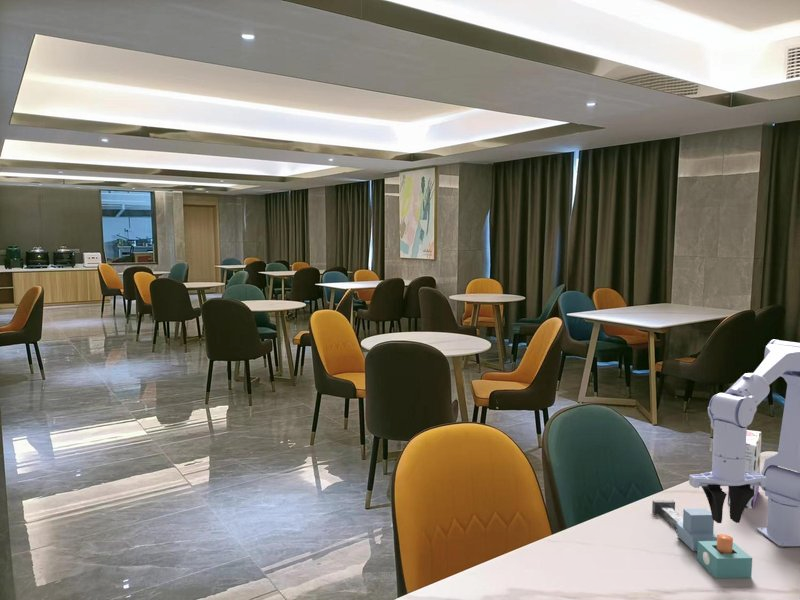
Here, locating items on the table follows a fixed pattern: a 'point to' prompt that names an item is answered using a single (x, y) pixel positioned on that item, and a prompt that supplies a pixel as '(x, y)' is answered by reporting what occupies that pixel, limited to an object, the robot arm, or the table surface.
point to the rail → (667, 511)
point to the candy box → (752, 461)
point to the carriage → (696, 527)
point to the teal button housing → (724, 561)
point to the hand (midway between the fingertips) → (725, 520)
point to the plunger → (724, 544)
